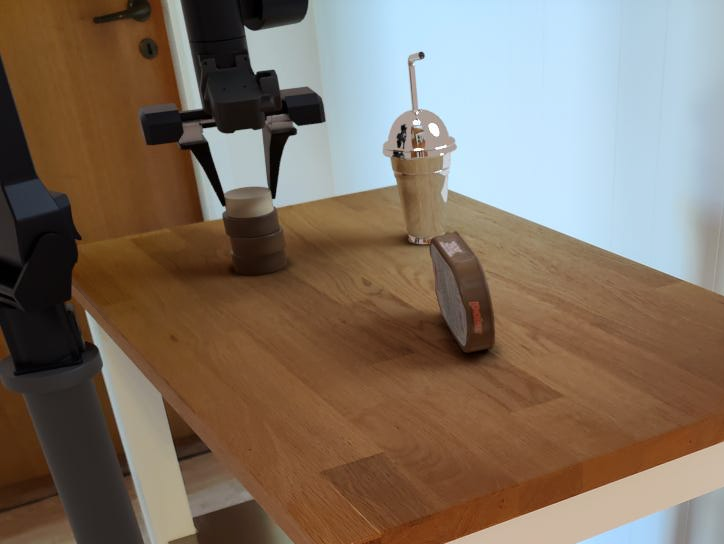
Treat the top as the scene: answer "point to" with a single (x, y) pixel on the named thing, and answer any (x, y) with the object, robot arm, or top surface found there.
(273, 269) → the chip pile
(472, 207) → the top surface
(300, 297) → the top surface
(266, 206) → the birch chip
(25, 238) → the robot arm
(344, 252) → the top surface
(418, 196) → the cup with straw
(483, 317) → the tin
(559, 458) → the top surface
